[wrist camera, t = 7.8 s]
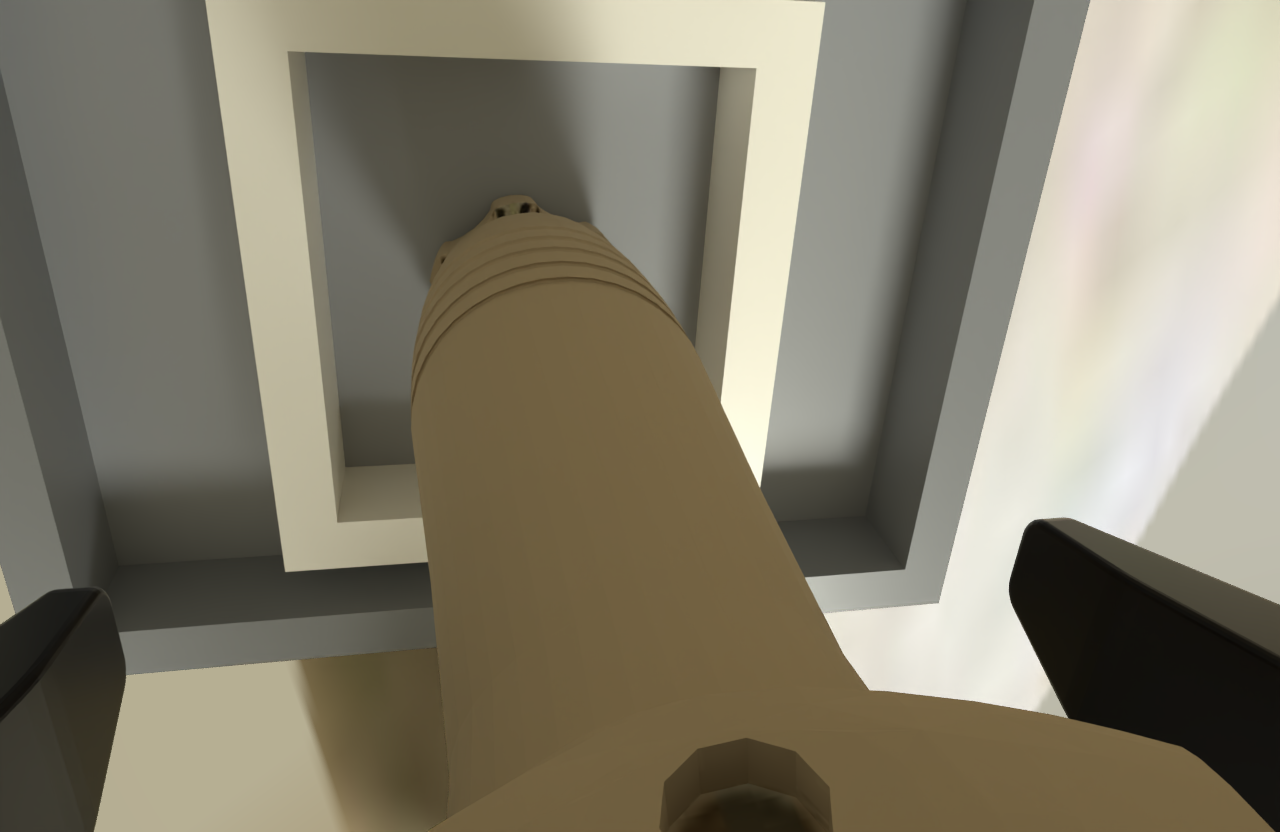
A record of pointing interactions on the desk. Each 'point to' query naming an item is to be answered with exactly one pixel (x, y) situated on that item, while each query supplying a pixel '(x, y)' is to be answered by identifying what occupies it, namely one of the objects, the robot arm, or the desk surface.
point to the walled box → (448, 209)
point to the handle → (680, 598)
